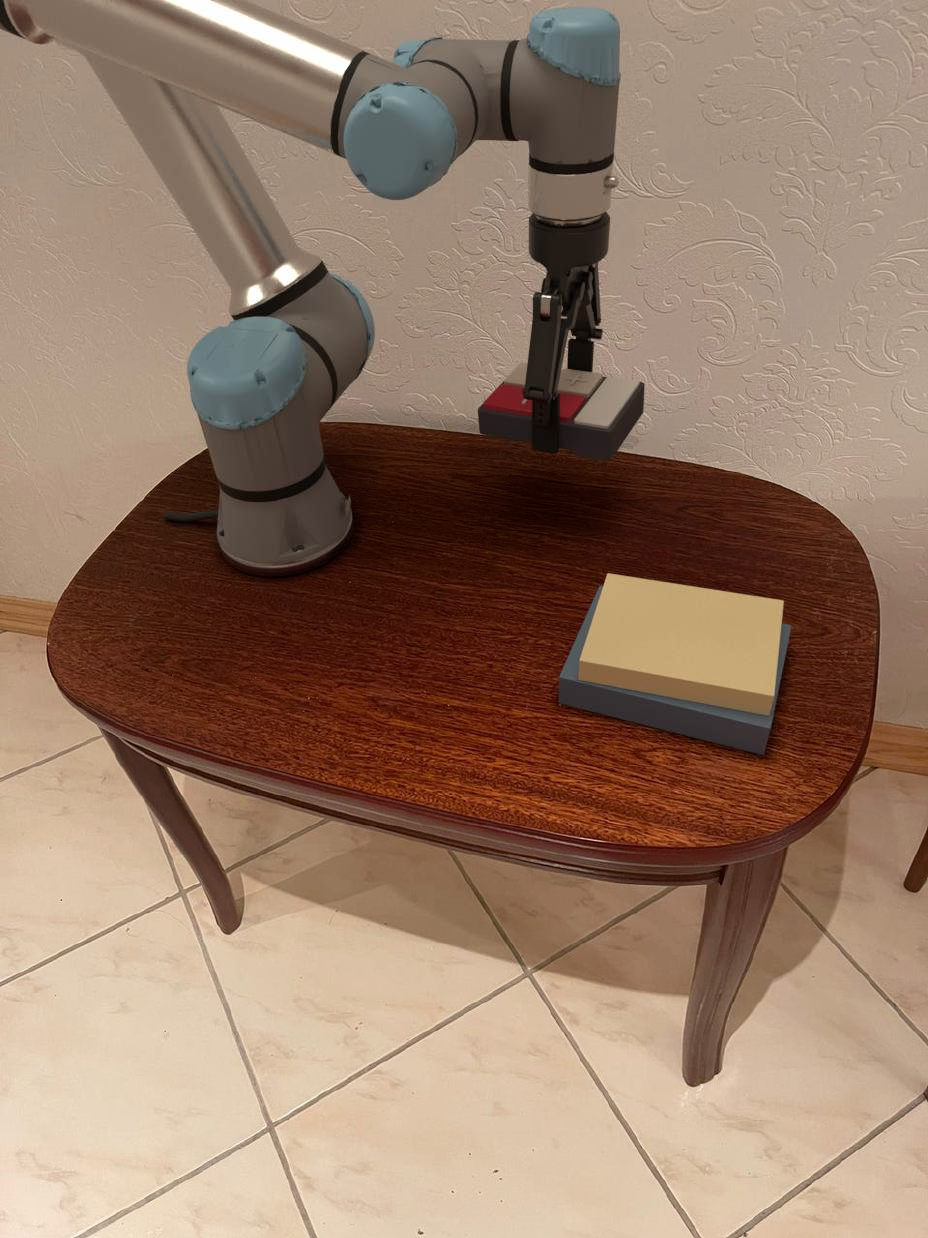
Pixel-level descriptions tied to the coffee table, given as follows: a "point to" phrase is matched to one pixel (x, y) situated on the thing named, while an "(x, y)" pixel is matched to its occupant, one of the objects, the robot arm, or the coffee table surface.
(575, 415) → the calculator
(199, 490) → the coffee table surface
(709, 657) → the book stack
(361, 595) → the coffee table surface
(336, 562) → the coffee table surface
